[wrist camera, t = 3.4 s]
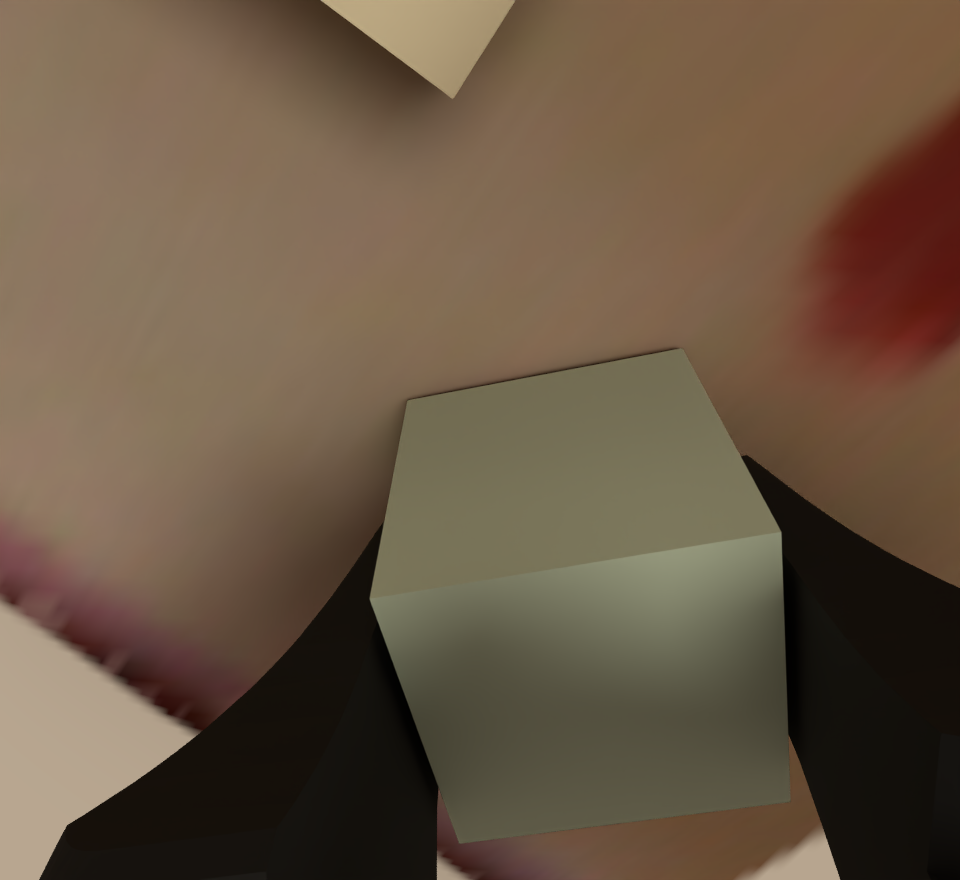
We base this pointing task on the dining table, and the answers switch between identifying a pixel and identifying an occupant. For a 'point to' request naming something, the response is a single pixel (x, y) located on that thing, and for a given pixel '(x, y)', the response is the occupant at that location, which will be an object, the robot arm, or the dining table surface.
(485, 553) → the sage block
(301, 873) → the robot arm
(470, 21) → the bamboo box
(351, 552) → the dining table surface
